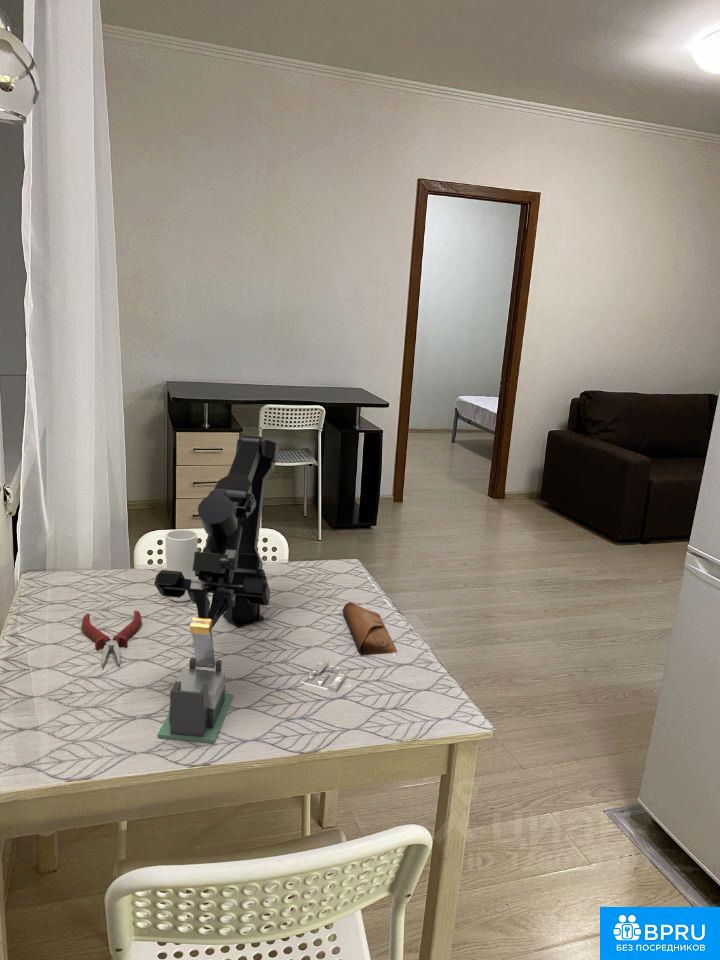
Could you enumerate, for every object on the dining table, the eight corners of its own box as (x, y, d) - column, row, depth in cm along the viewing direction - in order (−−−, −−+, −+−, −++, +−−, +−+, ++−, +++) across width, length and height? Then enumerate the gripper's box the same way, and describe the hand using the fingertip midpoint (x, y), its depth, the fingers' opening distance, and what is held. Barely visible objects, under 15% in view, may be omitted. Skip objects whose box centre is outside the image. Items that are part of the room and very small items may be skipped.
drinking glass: (182, 588, 164) (183, 526, 159) (203, 597, 160) (204, 534, 156) (158, 597, 158) (158, 534, 154) (179, 607, 154) (179, 542, 150)
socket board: (182, 691, 124) (182, 649, 121) (233, 696, 123) (234, 654, 121) (157, 737, 111) (157, 691, 109) (214, 743, 111) (215, 697, 109)
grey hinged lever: (198, 660, 121) (193, 617, 115) (215, 662, 121) (211, 619, 115) (195, 669, 120) (190, 625, 113) (213, 671, 120) (208, 627, 113)
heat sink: (184, 696, 121) (184, 666, 120) (224, 700, 121) (225, 670, 120) (169, 724, 114) (169, 692, 112) (212, 728, 113) (213, 697, 112)
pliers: (77, 675, 127) (76, 661, 126) (82, 623, 145) (82, 611, 145) (144, 669, 131) (144, 656, 130) (141, 619, 149) (141, 607, 148)
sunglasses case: (400, 653, 142) (386, 627, 140) (370, 670, 142) (355, 645, 139) (378, 612, 159) (365, 589, 157) (351, 628, 159) (337, 605, 156)
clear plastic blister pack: (335, 695, 127) (336, 687, 127) (300, 685, 130) (300, 678, 129) (351, 673, 135) (351, 666, 134) (317, 665, 137) (318, 658, 136)
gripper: (158, 524, 118) (134, 614, 110) (270, 534, 117) (254, 625, 109) (172, 553, 128) (151, 637, 120) (275, 562, 127) (261, 647, 119)
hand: (203, 636), depth 117 cm, fingers closed, pressing on grey hinged lever
